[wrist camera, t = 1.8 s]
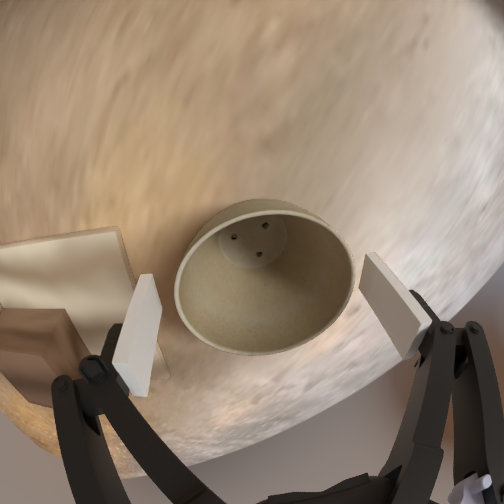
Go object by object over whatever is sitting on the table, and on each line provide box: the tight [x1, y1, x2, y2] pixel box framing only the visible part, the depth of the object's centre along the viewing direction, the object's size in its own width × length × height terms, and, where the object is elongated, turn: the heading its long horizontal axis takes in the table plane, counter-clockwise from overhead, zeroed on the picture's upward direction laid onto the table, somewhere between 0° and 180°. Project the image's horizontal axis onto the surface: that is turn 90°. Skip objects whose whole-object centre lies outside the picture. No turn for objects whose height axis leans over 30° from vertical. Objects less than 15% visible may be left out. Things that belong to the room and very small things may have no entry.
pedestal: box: [0, 308, 91, 408], centre depth 21 cm, size 10×10×6 cm
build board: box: [0, 226, 170, 379], centre depth 22 cm, size 18×18×1 cm
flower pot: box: [174, 199, 355, 356], centre depth 18 cm, size 10×10×7 cm
